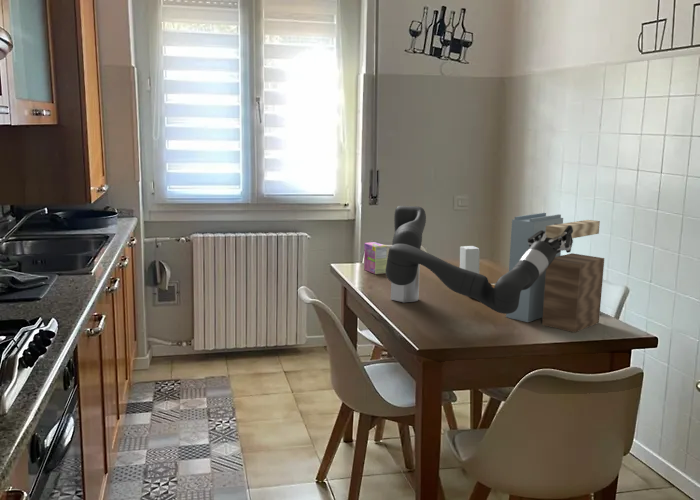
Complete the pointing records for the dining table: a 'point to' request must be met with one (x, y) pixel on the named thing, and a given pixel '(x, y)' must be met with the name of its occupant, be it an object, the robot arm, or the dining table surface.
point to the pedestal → (520, 232)
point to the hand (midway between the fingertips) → (563, 227)
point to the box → (375, 257)
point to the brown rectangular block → (574, 228)
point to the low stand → (573, 292)
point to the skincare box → (469, 258)
